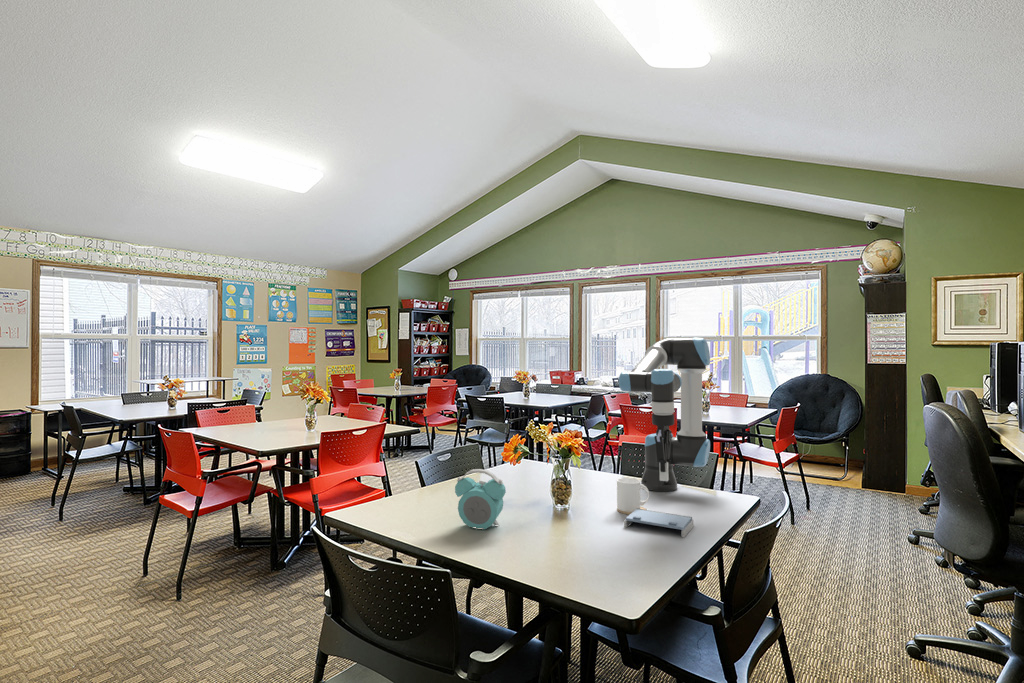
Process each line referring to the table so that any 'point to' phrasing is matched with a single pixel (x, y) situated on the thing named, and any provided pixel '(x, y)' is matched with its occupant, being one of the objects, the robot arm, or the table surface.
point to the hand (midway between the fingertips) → (664, 480)
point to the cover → (659, 519)
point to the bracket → (683, 532)
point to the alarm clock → (480, 500)
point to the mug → (629, 494)
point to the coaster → (629, 512)
